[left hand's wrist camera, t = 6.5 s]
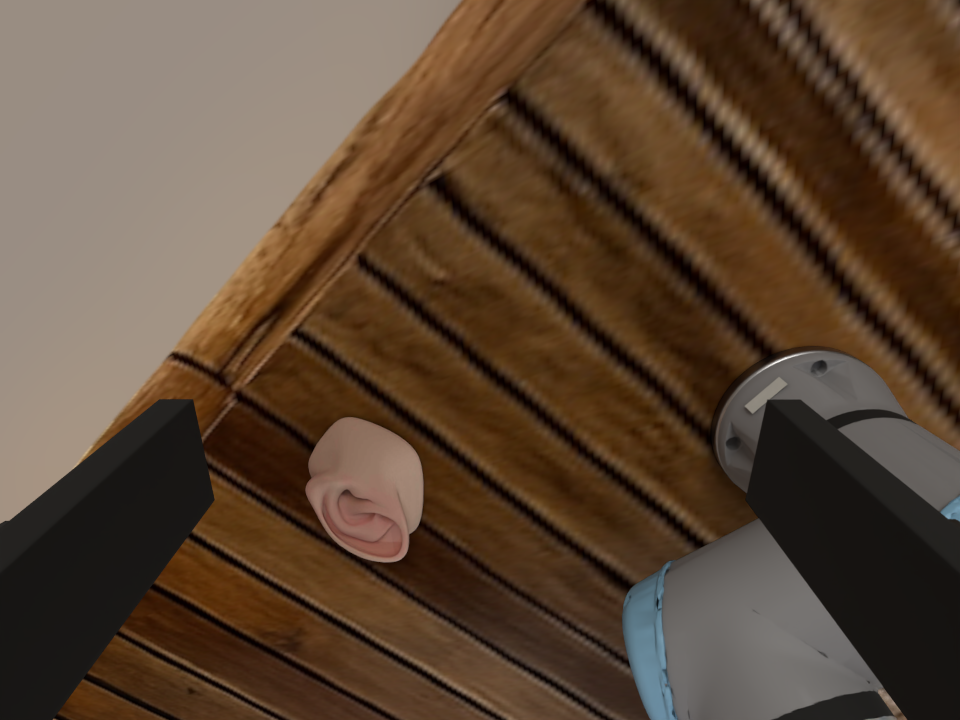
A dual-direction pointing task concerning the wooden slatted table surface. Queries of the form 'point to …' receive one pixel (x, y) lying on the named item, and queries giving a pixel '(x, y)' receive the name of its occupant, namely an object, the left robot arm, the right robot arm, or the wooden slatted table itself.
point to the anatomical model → (366, 489)
